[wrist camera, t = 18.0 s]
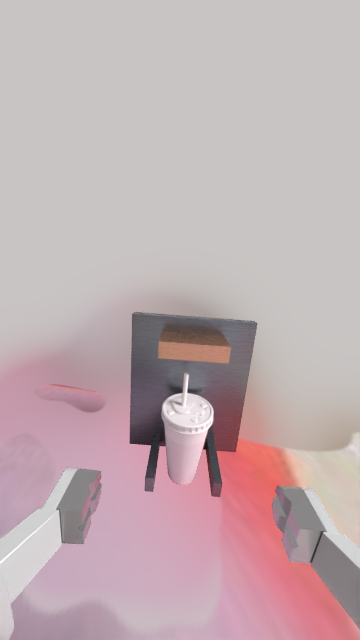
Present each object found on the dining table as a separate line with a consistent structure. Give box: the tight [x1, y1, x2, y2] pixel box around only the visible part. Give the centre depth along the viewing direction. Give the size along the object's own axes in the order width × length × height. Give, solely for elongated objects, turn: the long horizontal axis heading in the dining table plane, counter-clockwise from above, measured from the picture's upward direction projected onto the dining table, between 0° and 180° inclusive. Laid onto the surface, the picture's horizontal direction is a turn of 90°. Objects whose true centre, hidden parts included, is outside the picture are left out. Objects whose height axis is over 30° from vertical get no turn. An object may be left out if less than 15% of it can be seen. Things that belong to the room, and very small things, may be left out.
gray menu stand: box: [130, 312, 257, 497], centre depth 25 cm, size 16×8×20 cm, turn 89°
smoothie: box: [161, 373, 214, 485], centre depth 25 cm, size 6×6×14 cm
